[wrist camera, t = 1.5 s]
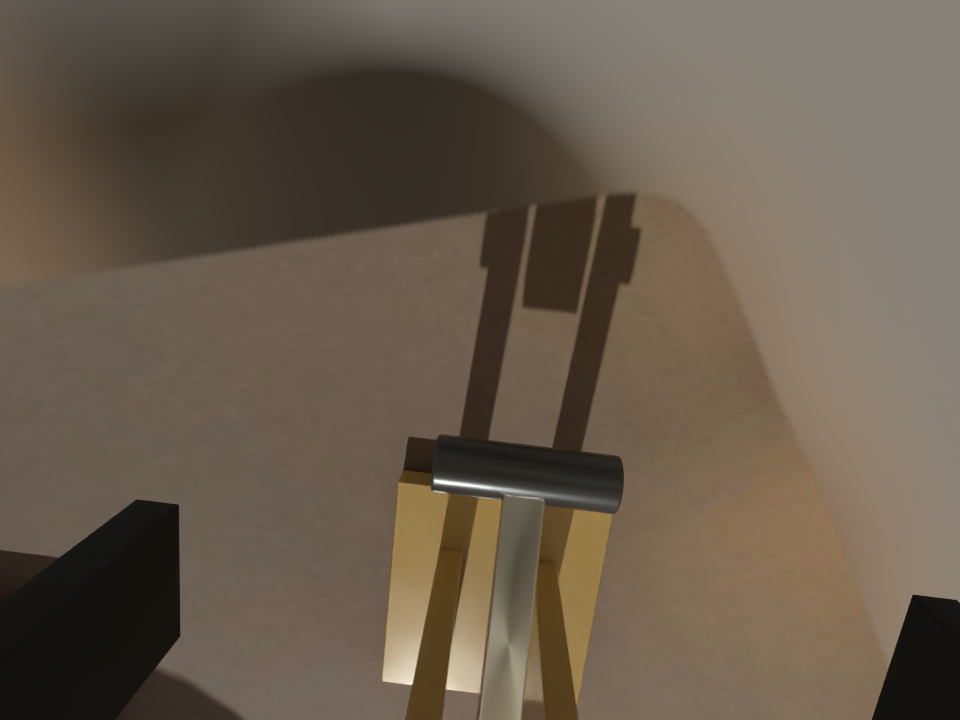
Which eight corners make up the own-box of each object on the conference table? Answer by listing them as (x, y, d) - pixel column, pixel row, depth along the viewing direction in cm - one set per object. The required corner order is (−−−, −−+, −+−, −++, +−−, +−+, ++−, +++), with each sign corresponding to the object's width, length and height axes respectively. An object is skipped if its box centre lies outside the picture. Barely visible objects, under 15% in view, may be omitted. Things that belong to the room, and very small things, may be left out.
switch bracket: (403, 469, 25) (287, 752, 12) (609, 494, 25) (726, 809, 12) (386, 662, 28) (274, 1077, 14) (574, 686, 28) (639, 1128, 14)
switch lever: (441, 433, 17) (434, 435, 15) (609, 453, 17) (630, 458, 15) (385, 879, 16) (368, 960, 14) (567, 903, 16) (582, 989, 13)
